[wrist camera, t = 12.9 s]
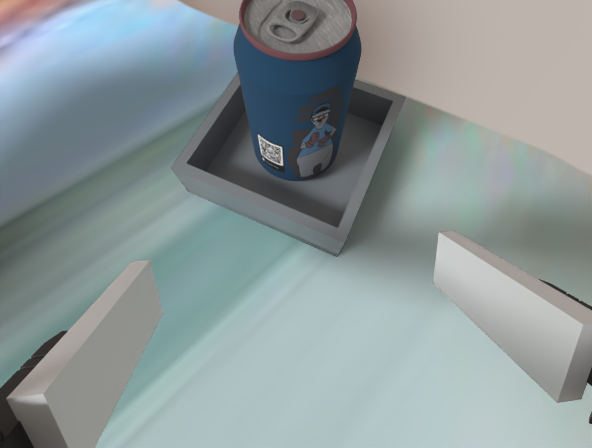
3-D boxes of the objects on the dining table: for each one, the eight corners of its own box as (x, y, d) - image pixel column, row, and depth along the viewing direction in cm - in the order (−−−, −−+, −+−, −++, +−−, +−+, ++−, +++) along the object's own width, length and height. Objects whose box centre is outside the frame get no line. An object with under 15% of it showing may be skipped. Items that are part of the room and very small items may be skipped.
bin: (188, 191, 25) (170, 167, 22) (261, 80, 29) (256, 45, 26) (336, 256, 23) (344, 243, 20) (391, 127, 28) (405, 97, 24)
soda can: (284, 108, 27) (278, -51, 16) (350, 142, 26) (394, -3, 15) (239, 163, 25) (196, 25, 14) (308, 203, 24) (322, 88, 13)
